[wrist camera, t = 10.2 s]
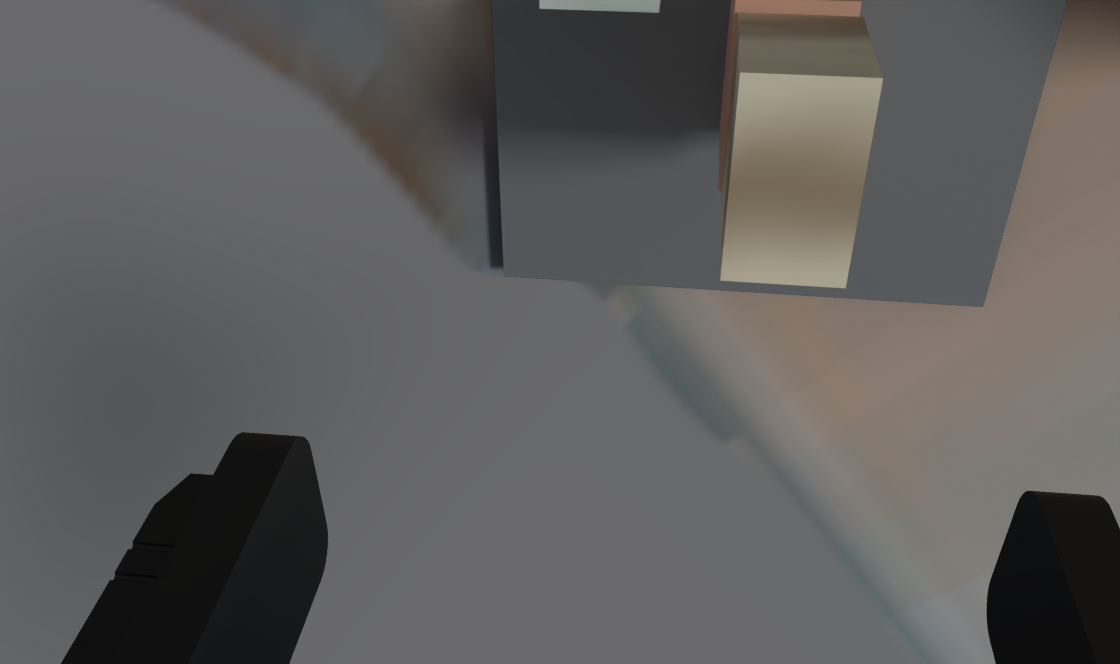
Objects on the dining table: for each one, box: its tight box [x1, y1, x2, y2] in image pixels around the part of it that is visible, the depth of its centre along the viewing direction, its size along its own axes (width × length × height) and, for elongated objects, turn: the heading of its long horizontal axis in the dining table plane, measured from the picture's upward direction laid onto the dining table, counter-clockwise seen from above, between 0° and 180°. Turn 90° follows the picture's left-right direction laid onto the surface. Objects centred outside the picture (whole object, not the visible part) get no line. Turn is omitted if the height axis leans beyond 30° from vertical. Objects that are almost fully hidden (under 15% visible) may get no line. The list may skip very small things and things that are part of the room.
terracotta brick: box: [718, 0, 862, 192], centre depth 32 cm, size 6×3×4 cm, turn 0°
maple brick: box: [720, 13, 883, 288], centre depth 29 cm, size 6×3×4 cm, turn 0°
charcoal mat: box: [491, 0, 1067, 307], centre depth 34 cm, size 20×18×1 cm
